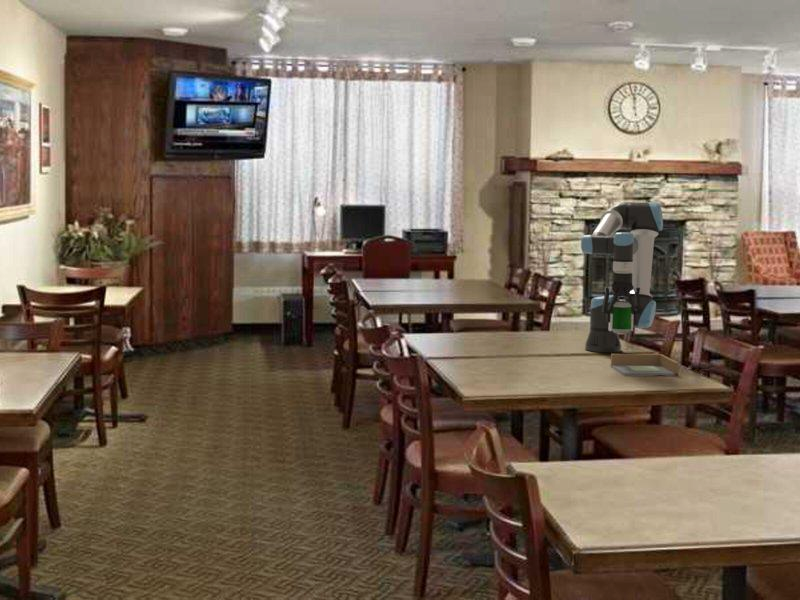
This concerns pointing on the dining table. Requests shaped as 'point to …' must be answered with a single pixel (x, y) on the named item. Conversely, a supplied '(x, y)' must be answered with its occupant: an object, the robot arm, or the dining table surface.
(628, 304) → the soda can
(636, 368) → the pad
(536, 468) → the dining table surface
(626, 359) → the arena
